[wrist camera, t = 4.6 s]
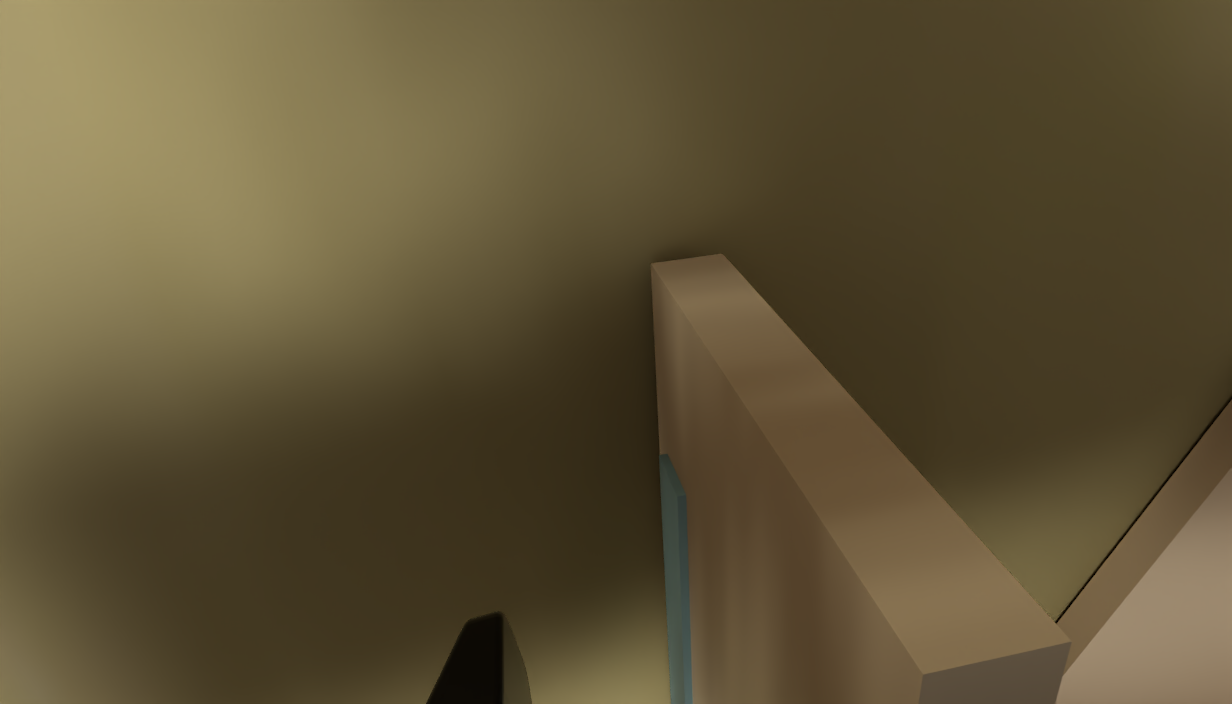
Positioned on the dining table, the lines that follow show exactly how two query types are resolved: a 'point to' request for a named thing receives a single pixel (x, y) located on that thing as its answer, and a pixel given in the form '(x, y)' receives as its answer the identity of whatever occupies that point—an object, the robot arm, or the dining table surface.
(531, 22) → the dining table surface
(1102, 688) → the carton
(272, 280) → the dining table surface
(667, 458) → the flap
